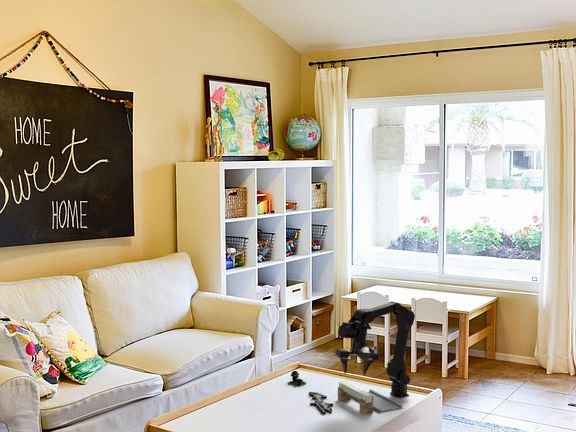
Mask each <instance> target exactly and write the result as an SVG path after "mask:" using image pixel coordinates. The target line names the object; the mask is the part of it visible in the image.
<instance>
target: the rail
mask: <svg viewBox="0 0 576 432" xmlns="http://www.w3.org/2000/svg"><path fill="white" fill-rule="evenodd" d="M338 387H340V388H342V390H343V391H345V392H347V393H349V394H350V395H352V396H354V397H356V398H358V399H362V400H364V401H365V403H369V402H372V395H371V394H369V393H367V392H368V391H366V390H363V389H361V388H360V387H357V386H356V385H354V384H352V383H349V382H348V381H346V380H343V381H338Z"/></svg>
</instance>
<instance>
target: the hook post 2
mask: <svg viewBox="0 0 576 432" xmlns="http://www.w3.org/2000/svg"><path fill="white" fill-rule="evenodd" d="M359 413H360V414H362V415H367V414H373V413H374V410H373V396H372V402H369V403H365V401H364V400H362V399H360V402H359Z"/></svg>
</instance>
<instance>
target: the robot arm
mask: <svg viewBox="0 0 576 432" xmlns="http://www.w3.org/2000/svg"><path fill="white" fill-rule="evenodd" d="M391 313H392V315H394V316H395V323H396V325H397V333H396V337H395V345H394V351H393V355H392V360H391V361H388V362H387V364H386V369H385V371H386V375H387V376H388V379H389V381H391V387H390V388H391V389H390V390H391V391H390V392H389V394H390V395H392V396H393V397H396V398H399V399H400V398H403V397H409V396H410V394H409V393H408V384H410V382H411V377H410V376H409V375H408V374H407V366H406V364H405V355H406V350H407V349H406V348H407V342H408V337H409V336H408V335H409V330H410V329H411V327H412V326H413V325H414V322H415V318H416V314H415V313H414V312H413V311H412V310H410V309H408V308H406V307H405V306H403V305H401V303H399V302H397V301H389V302H388V303H384V304H381V305H378V306H375V307H372V308H359V309H358V308H357V309H356V310H355V311H354V314H353V315H352V316H351V318H350V319H349V320H348V321H347V322H346V321H343V322H342V324H341V325H339V327H338V330H337V333H338V336H339V337H340V338H341V339H351V341H350V342H351V343H352V344H351V348H350V349H349V350H347V349H344V348H337V349H336V350H335V356H337V357H338V358H339V359H340V363H341V365H342V369H343V373H344V374H347V370H348V362H349V360H350V358H349V357H355V358H357V357H358V358H359V359H360V360H363V367H362V374H363V376H365V375H366V374H367V372H368V370H369V368H370V367H371V365H372V364H373V363H375V362H376V361H379V359H380V356H379V353H377V352H375V347H368V342H367V336H368V335H367V334H368V330H372V327H371V326H370V324H371V323H372V322H374V321H375V319H378V318H379V317H382V316H385V315H389V314H391Z"/></svg>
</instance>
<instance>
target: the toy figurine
mask: <svg viewBox="0 0 576 432" xmlns="http://www.w3.org/2000/svg"><path fill="white" fill-rule="evenodd" d="M299 376H300V374H299V372H298V370H292V372H291V374H290V377H292V378H291V379H292V380H291V381H289V382H287V385H288V386H291V387H298V388H299V387H304V386H306V385H307V382H306V381H304V379H302V378H299Z"/></svg>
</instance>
